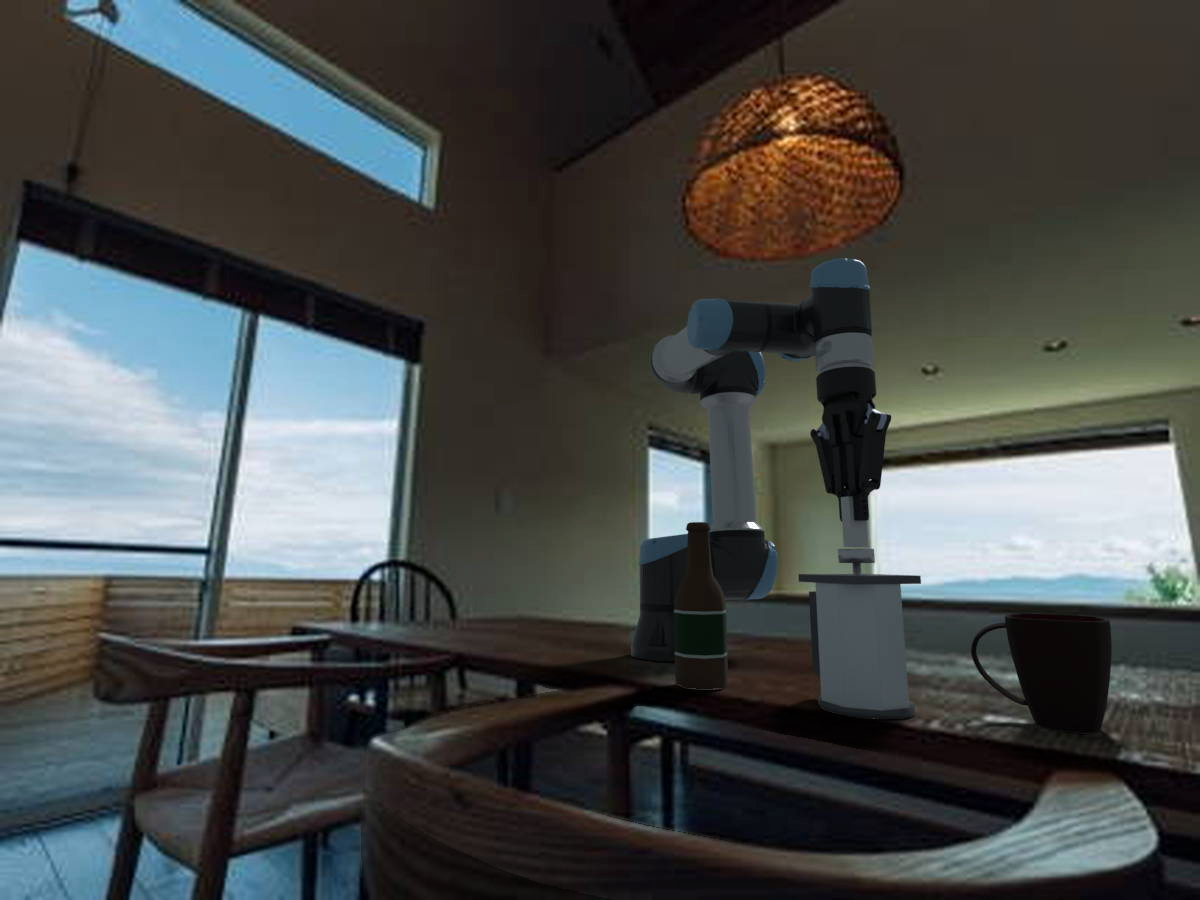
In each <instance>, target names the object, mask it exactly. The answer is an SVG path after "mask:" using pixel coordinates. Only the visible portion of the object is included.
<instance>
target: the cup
mask: <svg viewBox="0 0 1200 900" xmlns="http://www.w3.org/2000/svg"><path fill="white" fill-rule="evenodd" d="M999 629H1006V630H1005V631H1006V635H1007V636H1006V637H1007V641H1008V646H1009V650H1010V653H1011V658H1012V662H1013V666H1014V669H1015V671H1016V676H1017V679H1018V681H1019V685H1020V689H1021V691H1022V695H1023V697H1024V699H1023V698H1021V697H1018V696H1017V695H1014V694H1013V693H1011V692H1010V691H1008V690H1007V689H1005V688H1004V687H1002V686H1001V685H1000V683H998V682H996V681H995V679H993V677H991V676H990V675H989V674H988V673H987V671H986V670H985V669H984V667H983V666H982V664H981V662H980V659H979V657H978V655H977V648H978V644H979V641H980V639H981V638H982V637H983V636H985V635H986V634H987V633H989V632H992V631H994V630H999ZM1112 643H1113V642H1112V627H1111V621H1110V619H1109V618H1106V617H1103V616H1102V617H1100V616H1092V615H1078V614H1077V615H1074V614H1057V613H1056V614H1055V613H1054V614H1053V613H1026V612H1025V613H1023V612H1022V613H1021V612H1018V613H1017V612H1016V613H1009V614H1008V613H1007V614H1005V615H1004V621H1003V622H997V623H991V624H990V625H988V626H985V627H983V628H982V629H980V630H979V631H978V632H976V634H975V636H974V637H973V638H972V643H971V647H970V649H971V650H970V654H971V659H972V661H973V663H974V666H975V667H976V669H977V671H978V673H979V674H980V675H981V676H982V678H984V680H985V681H986V682H987V683H988V684H989V685H990V686H991V687H992V688H993V689H995V690H996V691H998V692H999V693H1000V694H1001V695H1003V696H1004V697H1006V698H1008V699H1009V700H1010V701H1012V702H1014V703H1016V704H1018V705H1021V706H1027V708H1028V709H1029V710H1028V711H1029V712H1030V714H1031V717H1032V720H1033V721H1034V723H1035V724H1036V725H1037V726H1038V727H1039V728H1041V729H1046V730H1052V731H1058V732H1065V733H1074V734H1084V735H1094V734H1095V735H1096V734H1097V733H1099V732H1100V731H1101V729H1102V726H1103V723H1104V718H1105V714H1106V710H1107V705H1108V698H1109V690H1110V688H1109V687H1110V680H1111V670H1112V657H1113V655H1112V654H1113V653H1112V651H1113V646H1112V645H1113V644H1112Z"/></svg>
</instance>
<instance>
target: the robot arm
mask: <svg viewBox="0 0 1200 900" xmlns="http://www.w3.org/2000/svg"><path fill="white" fill-rule="evenodd" d="M809 289H810V295H808V296H807V297H806V298H805V299H804V300H802V301H801V303H785V302H770V301H769V302H767V301H766V302H765V301H753V300H752V301H750V300H737V299H735V300H734V299H724V298H720V297H716V298H699V299H697V300H696V301H694V302H693V303H692V305H691V309H689V312H688V317H687V324H686V326H685V327H684V328H682V329H681V330H680V331H679V332H678V333H676V334H672V335H667V336H665V337H664V338H662V339H661V340H659V341H657V342H656V343H655V345H654V346H653V348H652V349H651V352H650V354H649V361H648V363H649V364H648V365H649V368H650V369H649V370H650V372H651V375H652V376H653V378H654V379H655V380H656V381H657V382H658V383H659V384H660V385H662V386H663V387H665V388H667V389H668V390H671V391H672V392H677V393H682V394H692V395H699V404H700V406H701V407H703V408H704V409H705V410H706V411H707V420H708V443H709V444H708V446H709V463H710V483H711V484H710V486H711V487H710V488H711V508H712V524H711V525H710V528H711V530H710V531H709V541H710V553H711V565H712V570H713V575H714V577H715V579H716V580H717V582H718V583H719V585H720V586H721V589H722V591H723V594H724V597H725V601H726V600H727V601H730V600H732V601H735V600H736V601H739V600H740V601H748V600H759V599H760V600H761V599H764V598H765V597H766V596H768V595H769V594H770V593H771V591H772V589H773V587H774V586H775V583H776V580H777V574H778V566H779V559H778V556H779V555H778V552H777V550H776V546H775V544H774V543H773V542H772V541H771V540H769V539H766V537H765V534H766V533H765V530H764V528H762V527H761V525H759V524H758V522H757V518H756V517H757V516H756V514H757V513H756V502H755V501H756V500H755V499H756V498H755V481H754V480H755V479H754V466H753V464H754V463H753V450H752V449H753V448H752V446H753V445H752V433H751V417H750V416H751V415H750V409H751V408H752V406H753V405H754V404H756V402H757V396H760V394H761V393H762V392H763V391H764V390H763V389H764V387H765V379H766V364H765V359H764V357H763V354H762V353H765V354H767V353H768V354H769V353H770V354H772V353H773V354H776V355H778V356H779V357H780V358H783V359H785V360H786V361H788V362H794V363H798V362H803V361H806V360H807V359H810V358H812V357H814V358H815V371H816V372H817V373H818V375H817V376H816V377H815V378H816V379H815V381H816V382H815V384H816V398H817V400H818V402H819V403H820V404H821V405H822V406H823V412H822V414H821V415H822V416H821V422H822V423H821V424H820V425H819V426H818V428H817V429H816V428H812V429H811V430H810V434H809V435H810V437H811V439H812V441H813V443H814V444H815V448H816V452H817V457H818V460H819V465H820V470H821V475H822V478H823V483H824V488H825V492H826V493H827V494H830V495H833V496H836V497H837V499H838V511H839V513H838V514H839V520H840V522H841V524H842V527H841V528H842V540H843V542H842V543H843V544H842V545H843V547H844V548H869V537H868V536H869V535H868V521H869V519H870V512H869V511H870V510H869V496H870V495H871V492H873V491H874V490H875V491H876V490H879V489H880V488H881V484H882V475H883V466H884V465H883V464H884V456H885V447H886V439H887V438H886V436H887V431H888V428H889V426H890V423H891V421H892V415H891V414H890V413H885V412H881V411H879V410H877V409H876V404H875V402H874V400H873V399H875V398H876V396H877V382H876V373H875V371H874V370H873V368H874V367H875V355H874V343H873V342H874V341H873V335H872V334H873V327H872V312H871V310H872V309H871V293H870V292H871V287H870V286H869V279H868V271H867V267H866V265H865V264H864V263H863V262H862V261H861V260H858V259H855V258H843V257H841V258H834V259H830V260H827V261H824V262H822V263H820V264H818V265H817V266H815V268H813V269H812V271H811V274H810V284H809ZM687 543H688V533H684V534H674V535H667V536H660V537H651V538H646V539H644V540H643V541H642V542H641V543H640V548H639V557H638V558H639V559H638V560H639V561H638V565H639V617H638V620H637V624H636V627H635V631H634V634H633V636H632V639H631V640H632V641H631V644H630V655H631V657H633V658H635V659H639V660H645V661H653V662H672V663H673V662H674V663H675V637H674V603H675V595H676V592H677V589H678V586H679V585H680V583H681V582H682V580H683V578H684V577H685V572H686V566H687Z"/></svg>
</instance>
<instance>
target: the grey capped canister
mask: <svg viewBox="0 0 1200 900" xmlns="http://www.w3.org/2000/svg"><path fill="white" fill-rule="evenodd" d="M921 578H922V576H921V575H915V574H913V575H912V574H911V575H909V574H882V573H881V574H878V573H876V574H875V573H861V575H853V573H802V574H801V573H798V583H800V582H801V583H814V584H815V591H814V590H813V591H810V590H809V591H808V599H809V600H808V601H809V617H810V643H811V661H812V663H811V665H812V674H814V675H815V674H816V675H819V676H820V677H819V678H820V695H818V696H817V701H818V703H817V704H819V706H820V707H822V708H824V709H826V710H828V711H831V712H834V713H837V714H840V715H839V716H841V715H844V716H843V717H846V716H848V718H852V717H856V718H855V719H860V718H863V719H862V720H871V718H875V719H877V718H878V719H898V720H903V719H902V718H906V719H909V718H908V717H910V718H912V716H913V717H914V716H915V715H916V707H915V705H916V704H915V703H914V702H913V701H911V700H910V698H909V685H908V684H909V683H908V682H909V681H908V670H907V668H908V667H907V656H906V642H905V631H904V630H905V629H904V628H905V627H904V626H905V625H904V616H903V601H902V589H901V587H902V586H901V585H918V584H919V585H922V579H921ZM819 706H818V707H819ZM868 718H870V719H868Z"/></svg>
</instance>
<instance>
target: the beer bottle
mask: <svg viewBox="0 0 1200 900" xmlns="http://www.w3.org/2000/svg"><path fill="white" fill-rule="evenodd" d="M710 527H711V525H710V523H708V522H706V521H703V522H702V521H692V522H688V523H686V528H685V531H687V534H688V543H687V566H686V572H685V577H684V578H683V580H682V582H681V583H680V585H679V586H678V589H677V592H676V595H675V603H674V637H675V662H674V675H675V684H678V685H681V686H683V687H685V688H696V689H713V688H723V687H725V686H726V685H728V679H729V678H728V677H729V675H728V674H729V673H728V672H729V671H728V668H729V667H728V664H729V663H728V635H727V608H726V600H725V597H724V594H723V591H722V589H721V586H720V585H719V583H718V582H717V580H716V579H715V577H714V575H713V570H712V565H711V553H710V541H709V531H710V530H711V528H710ZM726 687H727V686H726ZM726 687H725V688H726Z"/></svg>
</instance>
